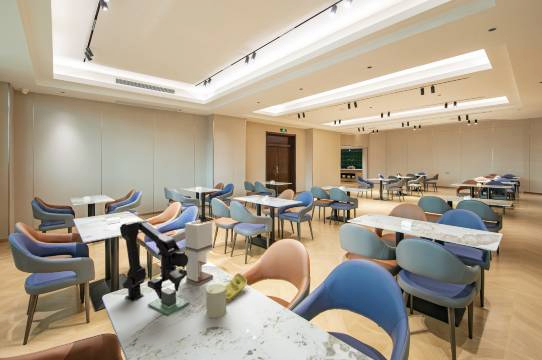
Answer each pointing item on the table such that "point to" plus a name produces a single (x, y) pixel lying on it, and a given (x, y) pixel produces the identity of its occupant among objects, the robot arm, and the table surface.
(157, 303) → the pcb board
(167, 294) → the grey ice pop
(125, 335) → the table surface
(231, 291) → the plastic component
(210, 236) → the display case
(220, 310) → the can
